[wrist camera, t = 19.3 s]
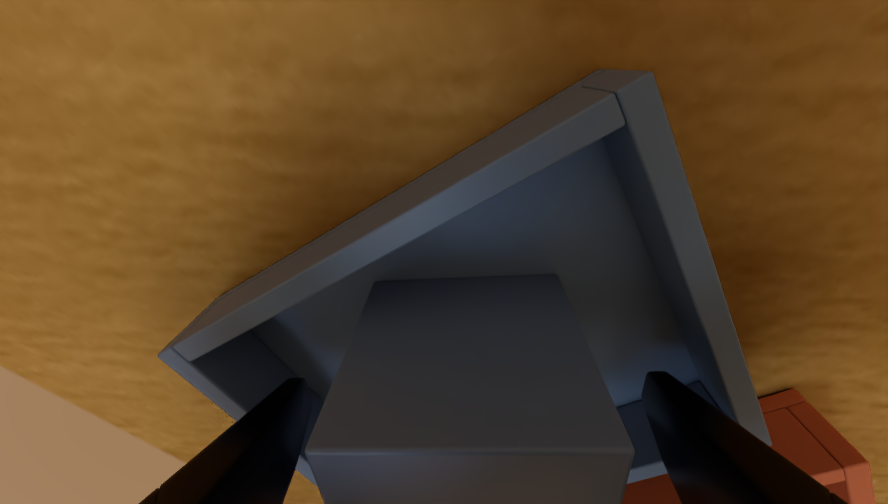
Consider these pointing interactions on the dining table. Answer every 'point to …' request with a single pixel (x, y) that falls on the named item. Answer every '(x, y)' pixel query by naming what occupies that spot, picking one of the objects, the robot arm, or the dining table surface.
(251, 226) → the dining table surface
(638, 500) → the terracotta tray
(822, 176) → the dining table surface
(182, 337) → the blue tray
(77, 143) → the dining table surface
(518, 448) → the blue block
